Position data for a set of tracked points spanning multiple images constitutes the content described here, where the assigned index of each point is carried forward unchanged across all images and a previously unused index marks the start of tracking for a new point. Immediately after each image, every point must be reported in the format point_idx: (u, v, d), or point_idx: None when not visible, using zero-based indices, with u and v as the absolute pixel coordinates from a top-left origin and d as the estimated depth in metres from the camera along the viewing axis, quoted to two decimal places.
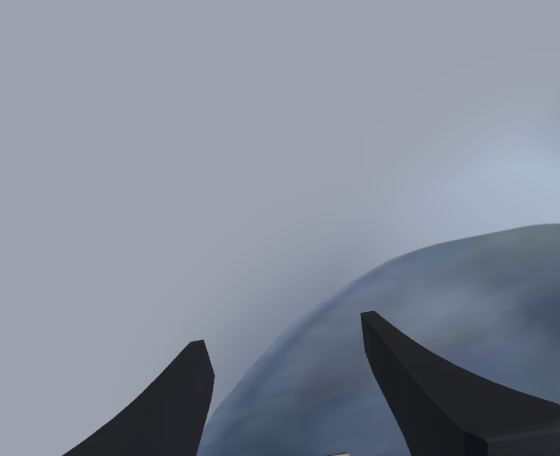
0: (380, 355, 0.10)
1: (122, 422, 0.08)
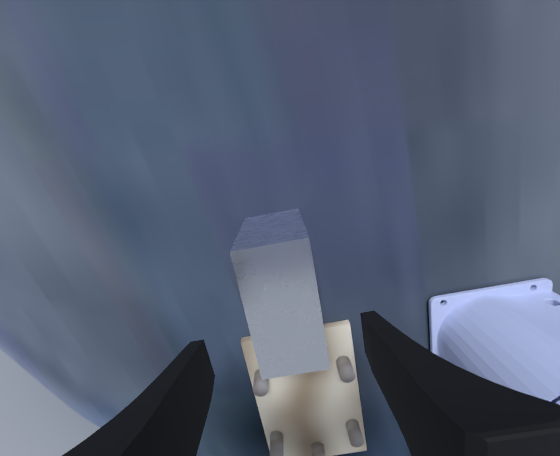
0: (380, 355, 0.10)
1: (122, 422, 0.08)
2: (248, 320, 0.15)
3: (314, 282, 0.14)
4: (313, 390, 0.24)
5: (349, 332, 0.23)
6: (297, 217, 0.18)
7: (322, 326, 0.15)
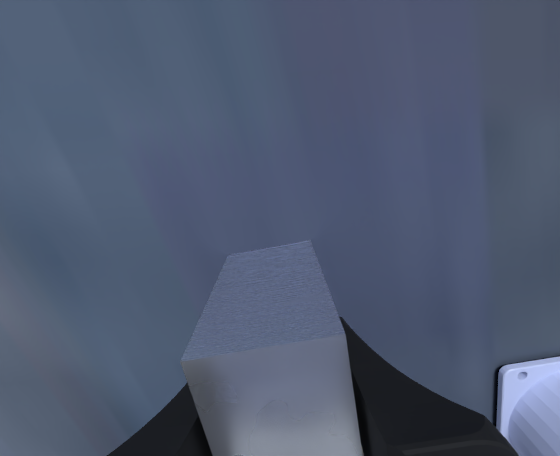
0: None
1: (172, 414, 0.08)
2: None
3: (352, 413, 0.07)
4: None
5: None
6: (311, 262, 0.11)
7: None
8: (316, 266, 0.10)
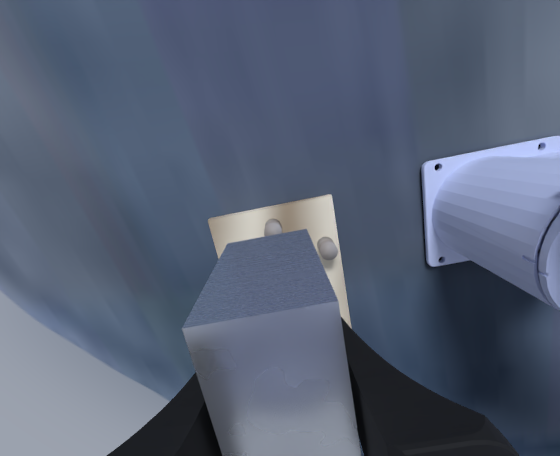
0: None
1: (172, 413, 0.08)
2: (222, 447, 0.08)
3: (346, 381, 0.08)
4: None
5: (331, 206, 0.20)
6: (307, 246, 0.11)
7: (358, 454, 0.08)
8: (312, 249, 0.11)
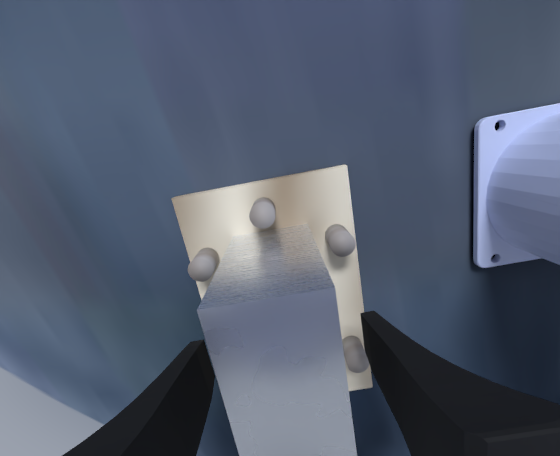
0: (380, 355, 0.10)
1: (122, 422, 0.08)
2: (230, 416, 0.09)
3: (340, 359, 0.09)
4: None
5: (346, 181, 0.14)
6: (308, 240, 0.12)
7: (351, 425, 0.09)
8: (312, 242, 0.12)
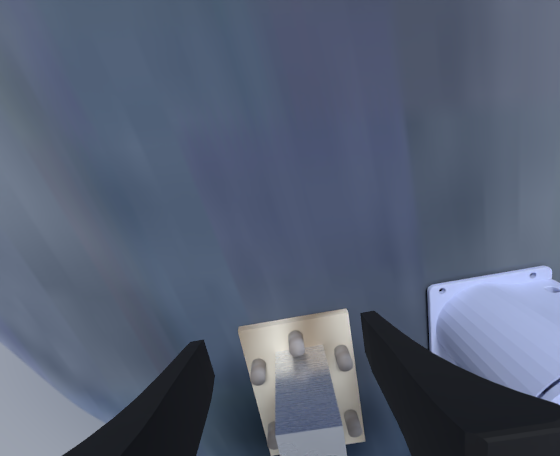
0: (380, 355, 0.10)
1: (122, 421, 0.08)
2: None
3: None
4: None
5: (347, 321, 0.22)
6: (325, 369, 0.20)
7: None
8: (328, 373, 0.20)
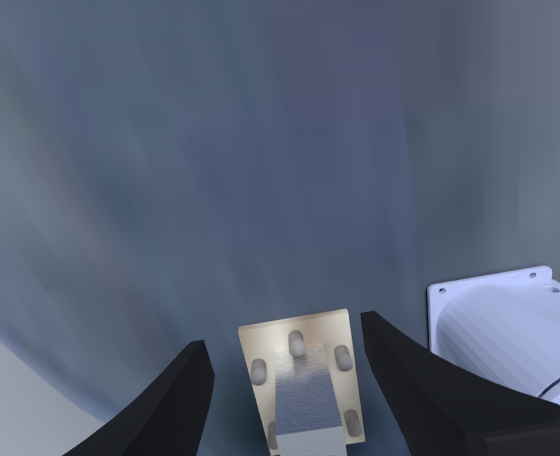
0: (380, 355, 0.10)
1: (122, 422, 0.08)
2: None
3: None
4: None
5: (347, 321, 0.22)
6: (325, 369, 0.20)
7: None
8: (328, 373, 0.20)
